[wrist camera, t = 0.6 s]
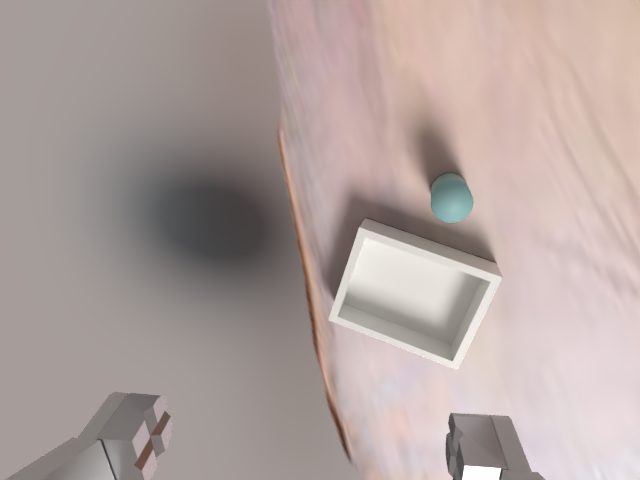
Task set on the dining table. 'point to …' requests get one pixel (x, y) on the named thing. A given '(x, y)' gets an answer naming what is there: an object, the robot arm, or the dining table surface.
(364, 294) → the tote
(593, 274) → the dining table surface
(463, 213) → the teal cylinder
